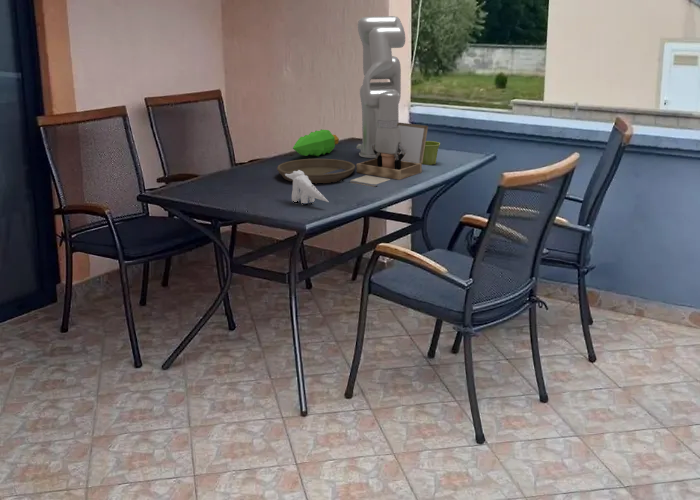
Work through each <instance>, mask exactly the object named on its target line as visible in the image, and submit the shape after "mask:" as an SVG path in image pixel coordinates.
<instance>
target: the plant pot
mask: <svg viewBox="0 0 700 500" xmlns="http://www.w3.org/2000/svg"><path fill="white" fill-rule="evenodd" d="M440 145H441V142H438V141H433V140H426V143H425V149H424V155H423V162H422V163H420V164H422V165H425V166H433V165H436V164H437V157H438V153H439V148H440Z"/></svg>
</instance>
